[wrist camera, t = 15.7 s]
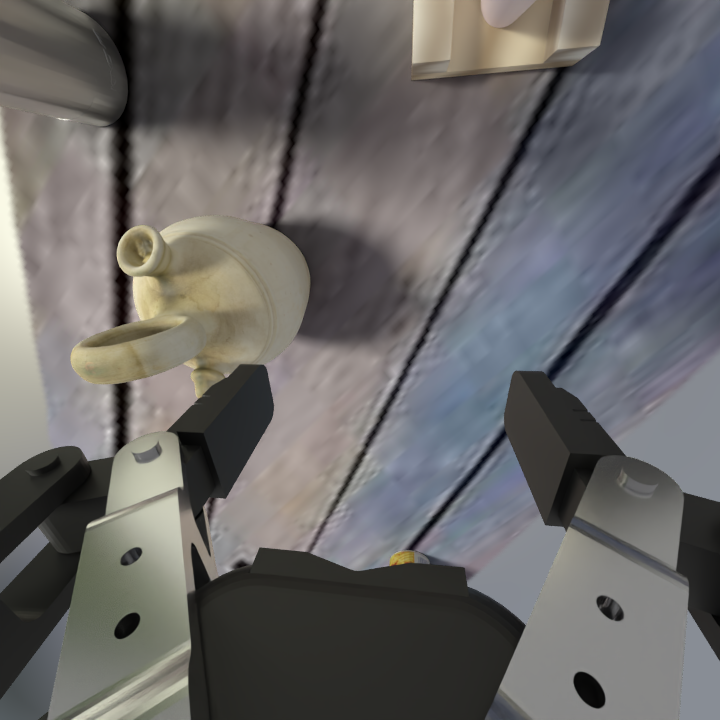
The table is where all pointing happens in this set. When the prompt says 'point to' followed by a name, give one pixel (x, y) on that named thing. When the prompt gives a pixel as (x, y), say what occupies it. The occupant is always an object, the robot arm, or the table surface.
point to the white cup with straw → (503, 11)
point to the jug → (201, 302)
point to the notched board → (502, 37)
